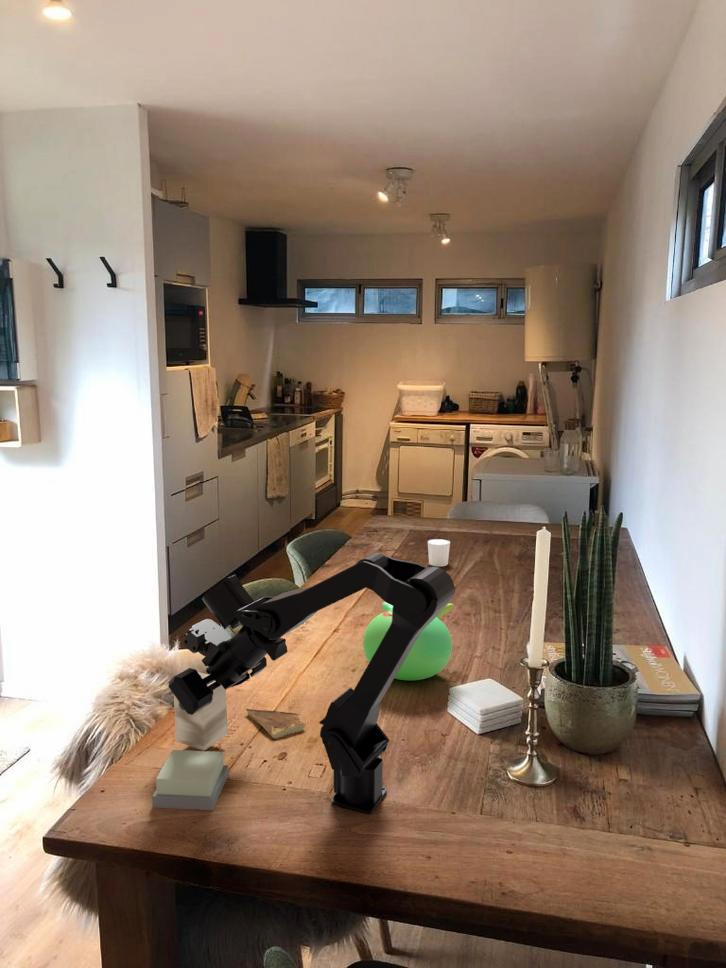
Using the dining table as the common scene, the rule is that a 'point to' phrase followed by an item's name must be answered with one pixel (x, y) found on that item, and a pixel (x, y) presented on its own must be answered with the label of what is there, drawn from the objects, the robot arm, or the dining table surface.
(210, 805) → the tower bottom slab
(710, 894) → the dining table surface
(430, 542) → the white short cylinder
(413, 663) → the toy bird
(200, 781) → the tower top slab
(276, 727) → the shard
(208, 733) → the maple column
